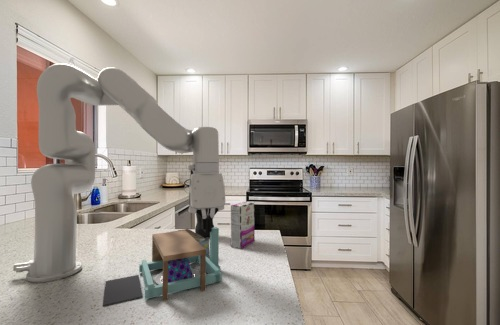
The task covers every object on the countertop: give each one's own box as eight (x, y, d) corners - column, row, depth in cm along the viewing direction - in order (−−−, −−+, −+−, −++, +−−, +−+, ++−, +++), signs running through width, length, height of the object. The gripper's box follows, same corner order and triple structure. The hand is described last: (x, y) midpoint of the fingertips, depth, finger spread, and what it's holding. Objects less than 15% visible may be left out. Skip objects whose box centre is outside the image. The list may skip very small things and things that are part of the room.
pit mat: (102, 306, 53) (102, 305, 53) (105, 282, 64) (105, 280, 64) (142, 297, 57) (142, 296, 57) (138, 275, 68) (138, 274, 68)
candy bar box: (244, 239, 103) (244, 201, 103) (254, 241, 101) (255, 202, 101) (229, 247, 93) (230, 204, 94) (240, 249, 91) (241, 205, 91)
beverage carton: (188, 262, 78) (188, 242, 79) (168, 247, 94) (168, 230, 94) (210, 257, 83) (210, 238, 83) (188, 243, 98) (188, 227, 99)
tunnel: (163, 301, 55) (163, 256, 55) (151, 267, 74) (152, 234, 74) (205, 290, 60) (205, 249, 60) (184, 261, 78) (185, 230, 79)
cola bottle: (218, 235, 109) (218, 169, 110) (205, 240, 102) (205, 169, 103) (204, 233, 114) (204, 169, 115) (191, 237, 107) (191, 169, 107)
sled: (145, 299, 55) (145, 246, 55) (139, 271, 70) (139, 229, 70) (229, 279, 65) (229, 234, 65) (208, 258, 80) (208, 222, 81)
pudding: (207, 280, 66) (207, 261, 66) (163, 294, 59) (164, 272, 59) (189, 266, 75) (189, 249, 76) (149, 277, 68) (149, 258, 68)
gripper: (183, 169, 65) (184, 238, 64) (234, 168, 72) (235, 230, 71) (177, 169, 71) (178, 232, 71) (224, 168, 78) (225, 225, 78)
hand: (207, 231), depth 71 cm, fingers closed
